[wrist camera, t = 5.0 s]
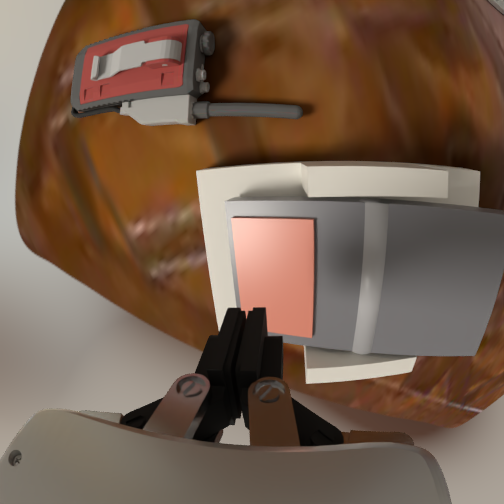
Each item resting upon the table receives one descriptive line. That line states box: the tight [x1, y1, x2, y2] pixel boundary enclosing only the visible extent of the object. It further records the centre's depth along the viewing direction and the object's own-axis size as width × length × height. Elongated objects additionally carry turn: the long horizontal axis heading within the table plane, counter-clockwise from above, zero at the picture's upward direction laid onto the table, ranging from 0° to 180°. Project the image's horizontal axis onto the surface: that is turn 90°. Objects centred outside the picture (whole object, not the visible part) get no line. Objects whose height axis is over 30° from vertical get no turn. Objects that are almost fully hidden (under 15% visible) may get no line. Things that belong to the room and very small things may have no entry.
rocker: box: [224, 196, 504, 356], centre depth 16 cm, size 18×10×2 cm, turn 92°
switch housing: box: [196, 161, 480, 384], centre depth 18 cm, size 22×14×8 cm, turn 94°
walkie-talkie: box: [71, 19, 303, 126], centre depth 16 cm, size 9×4×20 cm
